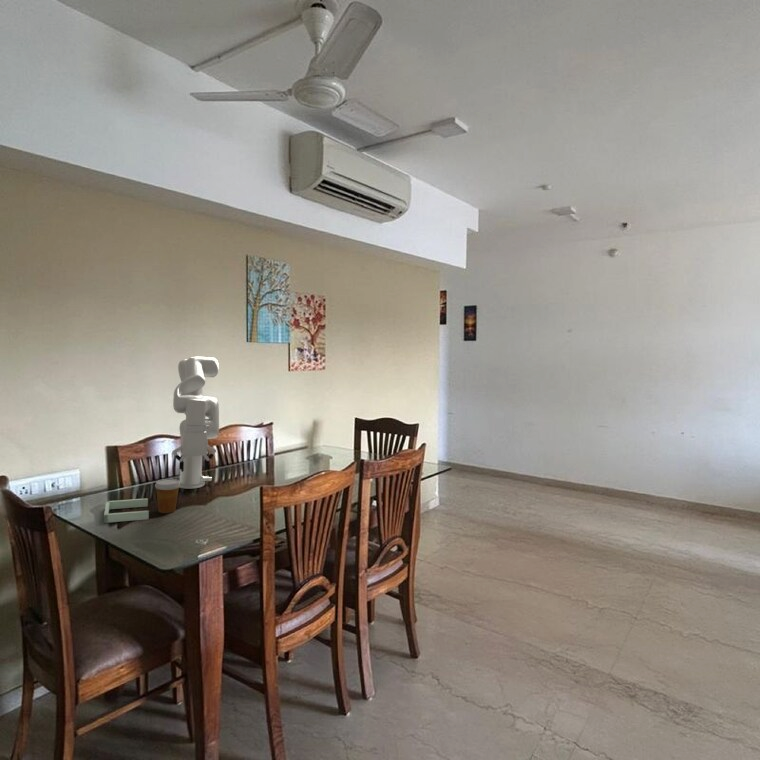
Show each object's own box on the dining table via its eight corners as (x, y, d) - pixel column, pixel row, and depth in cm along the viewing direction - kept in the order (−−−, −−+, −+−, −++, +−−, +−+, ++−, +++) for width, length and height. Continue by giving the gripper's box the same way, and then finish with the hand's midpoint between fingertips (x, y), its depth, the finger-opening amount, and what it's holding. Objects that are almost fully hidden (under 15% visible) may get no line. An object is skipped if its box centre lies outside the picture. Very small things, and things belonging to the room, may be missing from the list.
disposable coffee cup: (151, 514, 206) (152, 485, 205) (157, 506, 215) (157, 478, 214) (177, 514, 208) (178, 485, 206) (181, 506, 217) (182, 478, 216)
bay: (147, 505, 216) (147, 498, 215) (148, 519, 201) (148, 511, 201) (106, 508, 209) (106, 501, 209) (103, 522, 194) (104, 515, 194)
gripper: (216, 426, 220) (214, 466, 221) (171, 427, 212) (170, 469, 214) (218, 429, 213) (217, 471, 214) (172, 430, 206) (171, 473, 207)
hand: (193, 470), depth 214 cm, fingers open, 8 cm apart
